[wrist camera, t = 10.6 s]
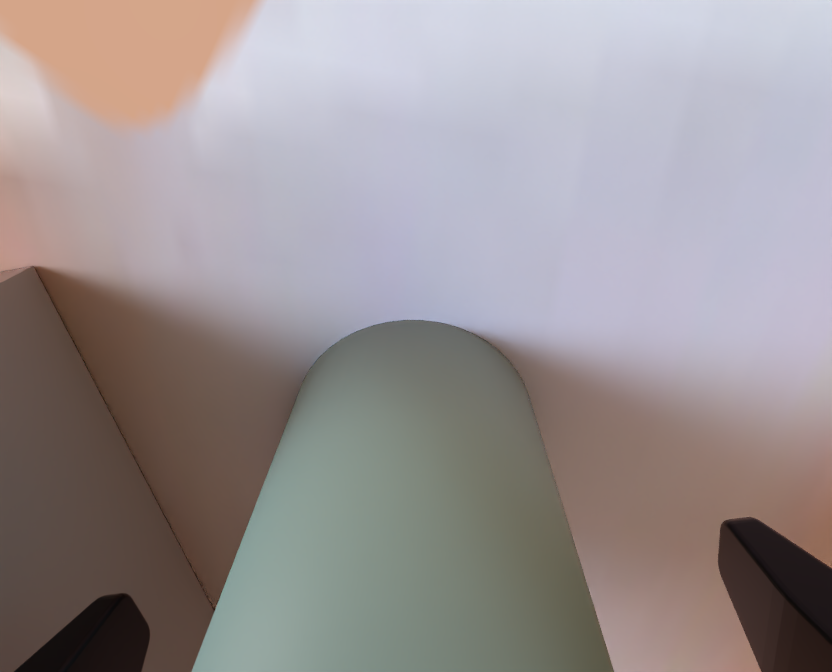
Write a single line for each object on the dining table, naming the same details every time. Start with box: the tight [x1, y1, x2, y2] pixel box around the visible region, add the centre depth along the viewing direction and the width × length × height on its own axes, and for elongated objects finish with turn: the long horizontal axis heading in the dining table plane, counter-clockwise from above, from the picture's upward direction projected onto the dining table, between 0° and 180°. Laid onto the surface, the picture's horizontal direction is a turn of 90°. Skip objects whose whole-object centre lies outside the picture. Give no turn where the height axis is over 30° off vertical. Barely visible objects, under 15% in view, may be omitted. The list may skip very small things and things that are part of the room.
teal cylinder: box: [192, 320, 614, 672], centre depth 8 cm, size 5×5×7 cm
